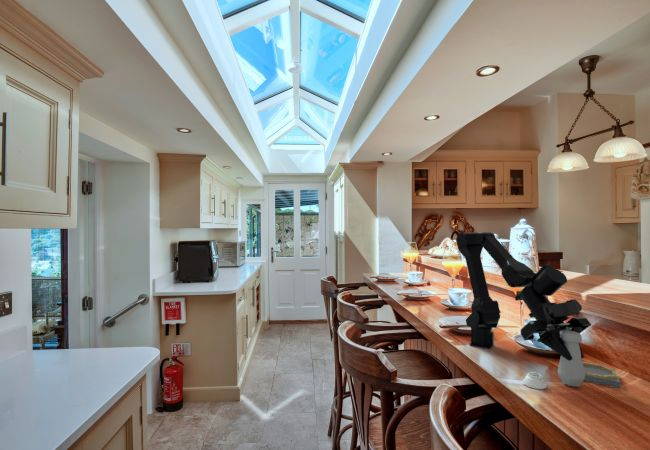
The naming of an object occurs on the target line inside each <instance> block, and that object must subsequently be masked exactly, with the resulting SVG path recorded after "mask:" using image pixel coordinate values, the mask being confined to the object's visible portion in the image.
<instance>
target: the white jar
mask: <svg viewBox="0 0 650 450" xmlns="http://www.w3.org/2000/svg"><path fill="white" fill-rule="evenodd" d="M522 383H523V385H525V386H527V388H528V387H529V388H531V389H534V390H543V389H547V384H546V382H545V380H544V378H543V376H542V374H541V373H538V372H534V371H531V372H527V374H526V375H525V377H524V379H523V381H522Z"/></svg>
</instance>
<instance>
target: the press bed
mask: <svg viewBox="0 0 650 450" xmlns="http://www.w3.org/2000/svg"><path fill="white" fill-rule="evenodd" d="M582 362H583V367H584V372H585V379H584V381H583V382H585V383H591V384H596V385H597V384H598V385H601V386H607V387H613V388H617V389H620V388H621V381H620V379H619V376H618V374H617V371H616V369H613V368H610V367H607V366H604V365H602V364H596V363H593V362H592V363H590V362H585V361H582Z"/></svg>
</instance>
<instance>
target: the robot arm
mask: <svg viewBox="0 0 650 450" xmlns="http://www.w3.org/2000/svg"><path fill="white" fill-rule="evenodd" d="M455 242H456V246H457V249H458V251H459V253H460V254H461V255H462V256H463V257H464V258H465V263H466V268H467V272H468V276H469V280H470V281H469V282H470V286H471V289H472V290H471V291H472V294H473V301H472V303H471V305H470V309H471V313H470V314H469V316H467V317H466V318H465V323H466V326H467V327H469V328H470V342H469V346H472V347H477V348H483V349H489V350H491V348H492V347H493V346H494V345H495V332H494V331H493V329H496V328H497V327H498V324H499V321H500V320H501V310H500V306H499V302H498V300H493V299H492V297H491V296H490V293H489V288H488V285H487V280H486V274H485V270H484V266H483V261H482V258H481V254H482V251H483V249H484V250H485V251H486V252H487V254H488V255H489V256H490V257H491V258H492V259H493V261H495V263H496V264H497V265H498V266H499V269H501V276H502V278H503V279H504V282H505V283H506V285H508V287H510V288H522V289H521V290H517V291H516V293H515V298H514V300H515V301H523V303H524V305H526V307H527V309H528V310H529V311H530V312H529V313H528V316H529V317H530V318H534V319H535V320H530V321H529V322H527V323H526V324H525V325H524V326H523V327H521V328H520V335H521V337H522V338H523V340H524V341H533V340H534V339H535V335H534V334H538V337H539V338H538V339H537V340H536V341H537V342H538V343H541V344H543V345H544V346H546V347H547V348H549V349H551V350H552V351H554V352H555V353H557V354H559V355H560V357H561V356H563V357H564V358H566V359H567V360H569V361H570V360H572V356H571V354H570V353H569V351H568V349H567V348H566V346H565V344H564V341H563V340H562V338H561V335H562V332H563V331H574V332H577V333H579V334H580V335H581V333H582V332H584V331H585V330H587V329H588V328H590V327H591V326H592V323H591V322H590V320H588V319H587V317H583V316H578V317H572V318H570V317H569V316H574V315H576V316H577V315H581V313H580V312H581V311H582V309H583V306H582V305H581V304H580V302H579V301H578V300H577V299H570V300H565V302H559V303H556V302H552V301H550V299H549V298H548V297H551V296H553V295H554V294H556V292H558V291H559V290H560V289H561V288H562V287H563V286H565V285H566V283H568V278H567V276H566V275H565V273H563V272H561V271H560V270H558V269H557V268H555V267H552V265H551V264H543V265H542V266H541V267H540V269H539V270H538V271H537V272H534V270H533V269H532V268H530V267H529V266H528V265H526V263H523V262H522V261H519V260H516V258H514V256H513V255H512V254H511V253H510V252H509V251H508V250H507V249H506V248H505V247H504V246H503V244H502V243H501V242H500V241H499V240H498V239H497V237H496V235H495V234H494V233H493V232H489V231H487V232H485V231H483V232H482V231H481V232H460V233H458V235H457V237H456V239H455ZM547 296H548V297H547ZM579 347H580V352H581V357H582V360H584V358H585V356H584V353H583V349H582V346H581V343H579Z"/></svg>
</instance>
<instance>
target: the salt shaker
mask: <svg viewBox="0 0 650 450" xmlns="http://www.w3.org/2000/svg"><path fill="white" fill-rule="evenodd" d="M560 337H561V338H562V340H563V341H564V344H565V346H566V348H567V349H568V351H569V353H570V354H571V356H572V360H570V361H569V360H567V359H566V358H564V357H563V356H561V355H560V359H559V362H558V366H557V375H558V377H559V379H560V380H561V382H562V384H564V385H567V386H568V387H577V388H578V387H581V386H582V383H583V382H585V381H584V379H585V372H584V367H583V362H584V361H583V359H582V357H581V352H580V347H579V343H580V344H581V343H582V339H583V337H582V334H581V333H580V334H579V333H577V332H574V331H563V332H562V335H561V334H560Z"/></svg>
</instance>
